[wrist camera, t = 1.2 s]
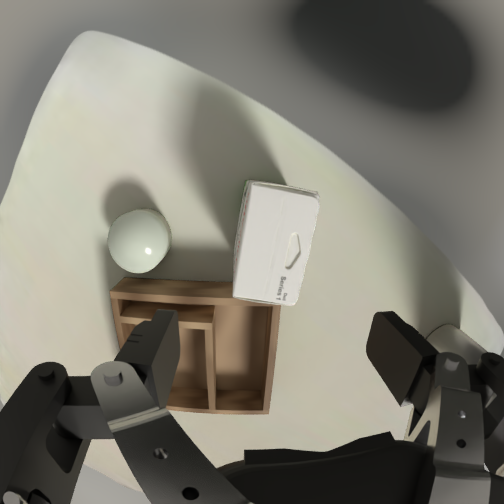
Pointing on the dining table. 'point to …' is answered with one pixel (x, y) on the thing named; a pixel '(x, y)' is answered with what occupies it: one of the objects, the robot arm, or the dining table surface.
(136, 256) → the white domed round part
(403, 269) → the dining table surface
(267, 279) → the ink box
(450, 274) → the dining table surface
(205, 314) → the organizer
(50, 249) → the dining table surface
